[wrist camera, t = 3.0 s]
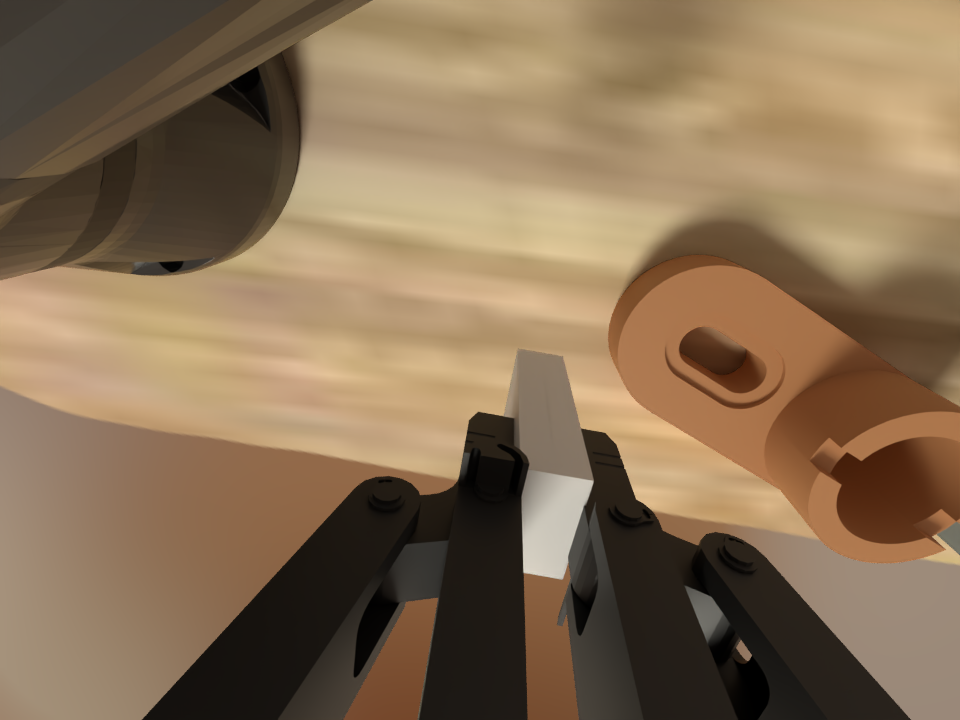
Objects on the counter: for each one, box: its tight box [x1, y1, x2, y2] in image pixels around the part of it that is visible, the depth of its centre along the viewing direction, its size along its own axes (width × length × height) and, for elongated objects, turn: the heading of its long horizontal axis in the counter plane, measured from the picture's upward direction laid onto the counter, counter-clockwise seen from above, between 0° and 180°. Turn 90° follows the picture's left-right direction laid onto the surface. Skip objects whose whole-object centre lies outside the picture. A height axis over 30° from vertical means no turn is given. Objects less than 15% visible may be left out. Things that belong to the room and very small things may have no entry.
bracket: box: [608, 255, 960, 563], centre depth 24 cm, size 18×8×7 cm, turn 59°
